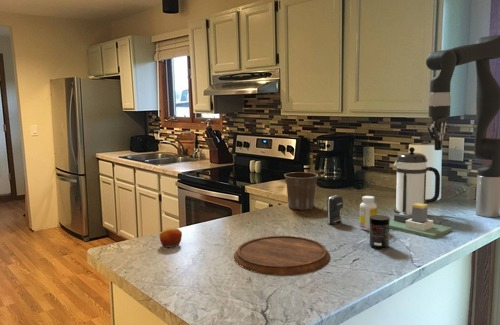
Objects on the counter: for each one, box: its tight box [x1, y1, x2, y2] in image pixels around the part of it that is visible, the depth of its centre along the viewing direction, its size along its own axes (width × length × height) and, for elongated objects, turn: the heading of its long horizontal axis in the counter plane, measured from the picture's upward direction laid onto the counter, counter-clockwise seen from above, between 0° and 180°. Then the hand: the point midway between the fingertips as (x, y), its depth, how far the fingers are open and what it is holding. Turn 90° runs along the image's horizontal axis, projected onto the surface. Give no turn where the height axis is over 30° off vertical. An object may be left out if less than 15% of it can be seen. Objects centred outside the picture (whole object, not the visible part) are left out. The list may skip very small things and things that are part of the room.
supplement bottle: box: [359, 195, 378, 231], centre depth 169 cm, size 7×7×13 cm
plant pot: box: [283, 171, 319, 211], centre depth 206 cm, size 16×16×16 cm
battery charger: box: [326, 195, 344, 225], centre depth 178 cm, size 7×4×11 cm, turn 134°
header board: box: [389, 212, 453, 239], centre depth 168 cm, size 14×22×5 cm, turn 40°
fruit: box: [159, 227, 183, 248], centre depth 155 cm, size 8×8×8 cm
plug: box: [412, 203, 428, 223], centre depth 166 cm, size 4×4×9 cm
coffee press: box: [393, 146, 441, 217], centre depth 188 cm, size 17×16×30 cm
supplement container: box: [368, 214, 391, 250], centre depth 149 cm, size 7×7×10 cm
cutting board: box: [233, 235, 331, 276], centre depth 143 cm, size 32×32×3 cm
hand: (438, 150), depth 164 cm, fingers closed
